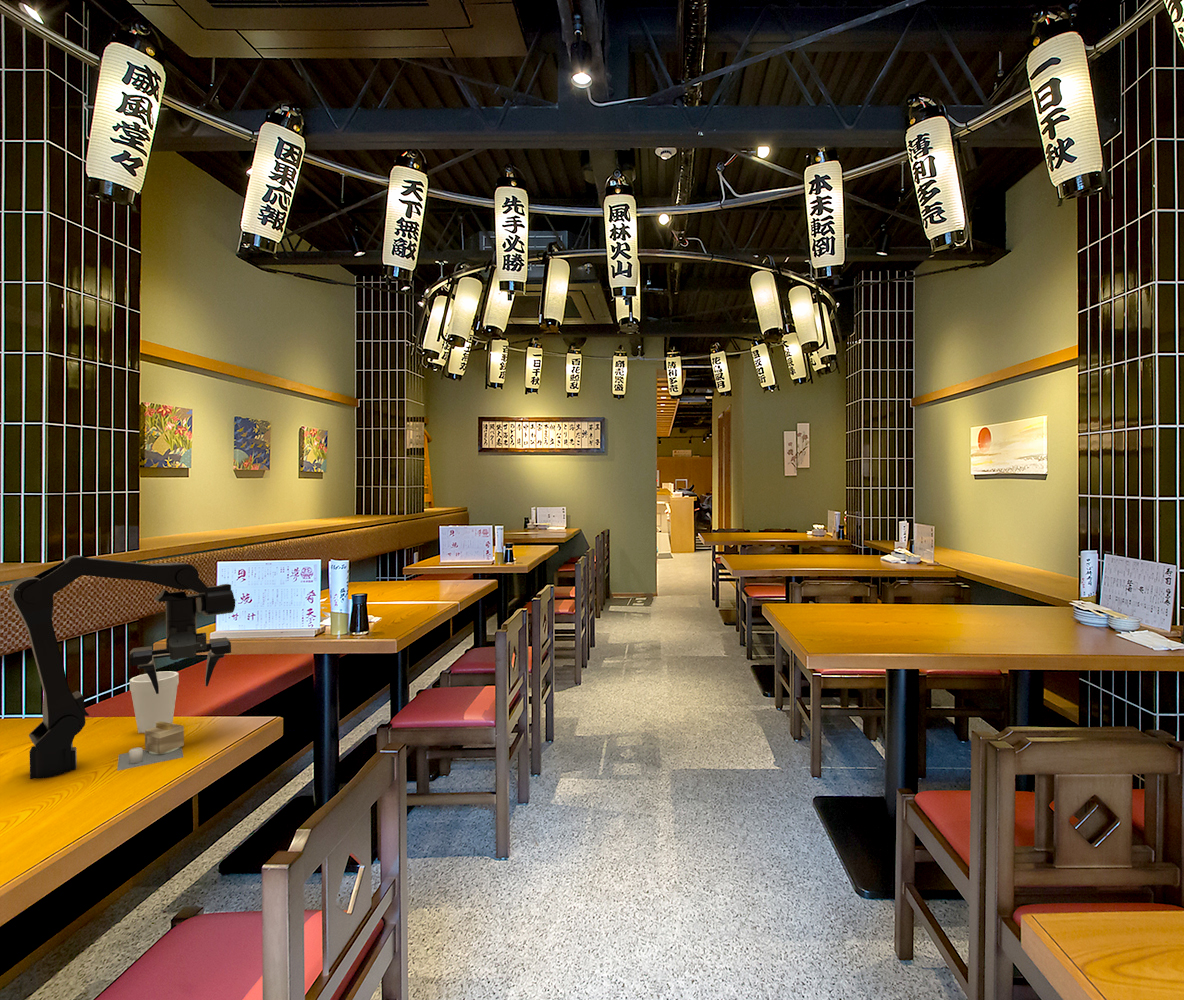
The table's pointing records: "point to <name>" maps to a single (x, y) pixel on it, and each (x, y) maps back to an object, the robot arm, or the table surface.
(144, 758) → the lock board
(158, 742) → the hinoki cap
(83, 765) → the table surface
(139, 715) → the foam cup
